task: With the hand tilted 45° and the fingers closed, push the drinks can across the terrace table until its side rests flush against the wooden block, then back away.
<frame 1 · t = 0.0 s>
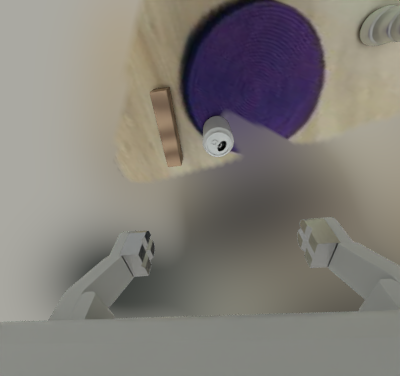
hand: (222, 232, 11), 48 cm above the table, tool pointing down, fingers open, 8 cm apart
can: (216, 128, 56), on the table
plastic bottle: (371, 28, 43), on the table
wooden block: (169, 126, 56), on the table
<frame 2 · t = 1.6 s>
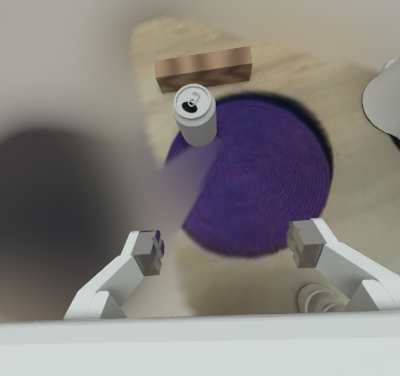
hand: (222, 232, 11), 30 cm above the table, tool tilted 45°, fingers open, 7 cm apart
can: (200, 132, 44), on the table
plastic bottle: (311, 299, 36), on the table
wooden block: (204, 79, 46), on the table
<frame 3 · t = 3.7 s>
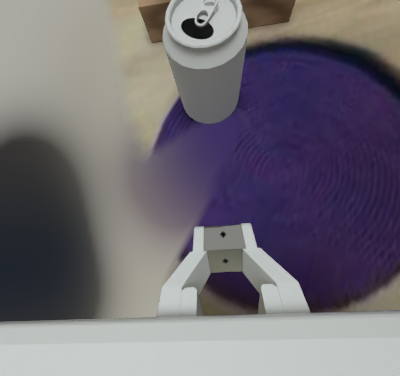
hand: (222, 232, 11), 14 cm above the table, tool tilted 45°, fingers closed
can: (210, 102, 27), on the table
wooden block: (216, 21, 29), on the table
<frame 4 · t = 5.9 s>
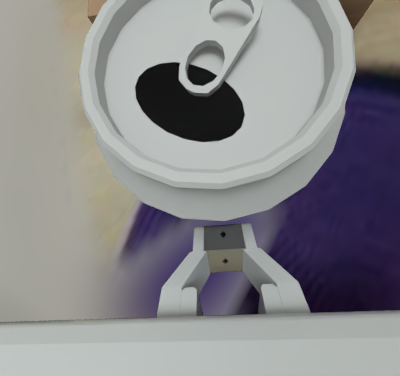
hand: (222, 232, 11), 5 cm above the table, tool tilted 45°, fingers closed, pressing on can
can: (217, 175, 16), on the table, touching gripper
wooden block: (227, 36, 18), on the table
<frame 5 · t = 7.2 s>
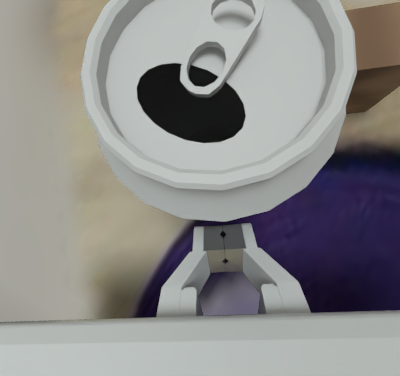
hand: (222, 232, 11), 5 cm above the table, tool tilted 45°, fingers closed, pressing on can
can: (217, 175, 16), on the table, touching gripper
wooden block: (236, 103, 17), on the table
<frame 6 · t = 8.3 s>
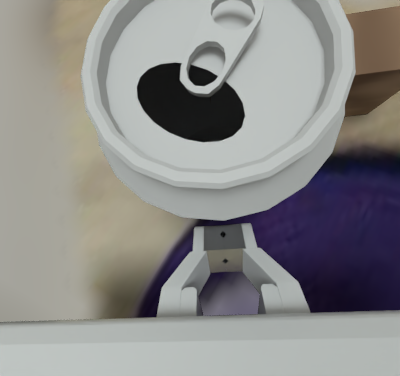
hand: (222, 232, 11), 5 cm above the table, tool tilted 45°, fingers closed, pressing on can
can: (217, 174, 16), on the table, touching gripper
wooden block: (236, 106, 17), on the table
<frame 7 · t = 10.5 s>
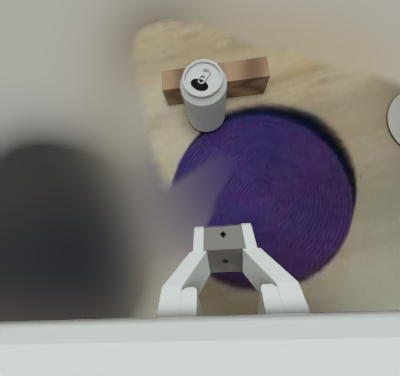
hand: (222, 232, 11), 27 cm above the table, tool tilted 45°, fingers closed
can: (206, 117, 41), on the table
wooden block: (214, 90, 42), on the table
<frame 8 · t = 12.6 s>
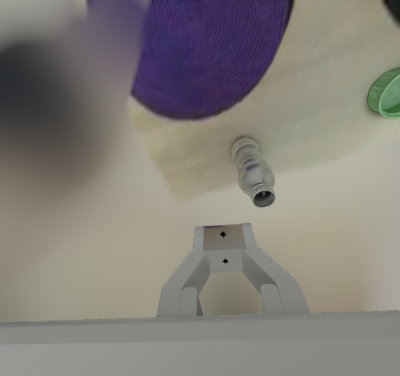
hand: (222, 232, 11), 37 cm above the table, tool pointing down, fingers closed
plastic bottle: (243, 147, 47), on the table
ramekin: (388, 90, 40), on the table
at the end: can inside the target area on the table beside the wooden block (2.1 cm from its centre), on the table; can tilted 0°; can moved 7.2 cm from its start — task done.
